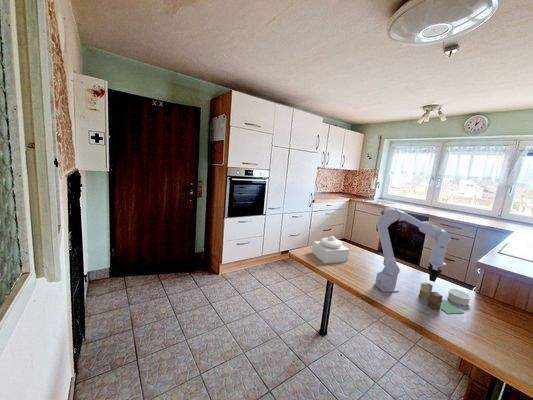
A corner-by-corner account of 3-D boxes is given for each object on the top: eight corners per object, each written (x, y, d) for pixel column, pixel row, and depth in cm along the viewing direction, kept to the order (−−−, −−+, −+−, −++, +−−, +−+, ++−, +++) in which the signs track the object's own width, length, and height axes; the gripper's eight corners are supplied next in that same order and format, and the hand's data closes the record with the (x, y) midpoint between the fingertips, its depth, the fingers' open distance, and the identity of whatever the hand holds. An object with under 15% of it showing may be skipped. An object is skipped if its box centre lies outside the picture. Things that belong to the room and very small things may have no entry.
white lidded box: (311, 252, 166) (313, 231, 163) (333, 251, 171) (335, 230, 169) (324, 263, 149) (327, 240, 147) (348, 261, 155) (351, 239, 152)
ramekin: (456, 295, 122) (458, 288, 121) (474, 306, 113) (476, 298, 113) (442, 296, 120) (444, 288, 120) (458, 307, 112) (460, 299, 111)
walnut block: (433, 309, 108) (436, 296, 107) (427, 305, 112) (429, 291, 110) (439, 309, 109) (442, 296, 108) (433, 304, 112) (436, 291, 111)
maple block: (425, 299, 117) (428, 286, 115) (418, 295, 120) (421, 282, 119) (430, 297, 118) (432, 285, 117) (423, 294, 121) (425, 281, 120)
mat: (447, 313, 106) (447, 313, 106) (429, 300, 116) (429, 300, 115) (464, 313, 107) (464, 312, 107) (444, 300, 117) (445, 299, 117)
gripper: (448, 260, 107) (442, 286, 110) (447, 251, 119) (442, 275, 121) (429, 255, 111) (424, 281, 114) (431, 247, 123) (426, 271, 125)
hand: (432, 278), depth 118 cm, fingers open, 7 cm apart
